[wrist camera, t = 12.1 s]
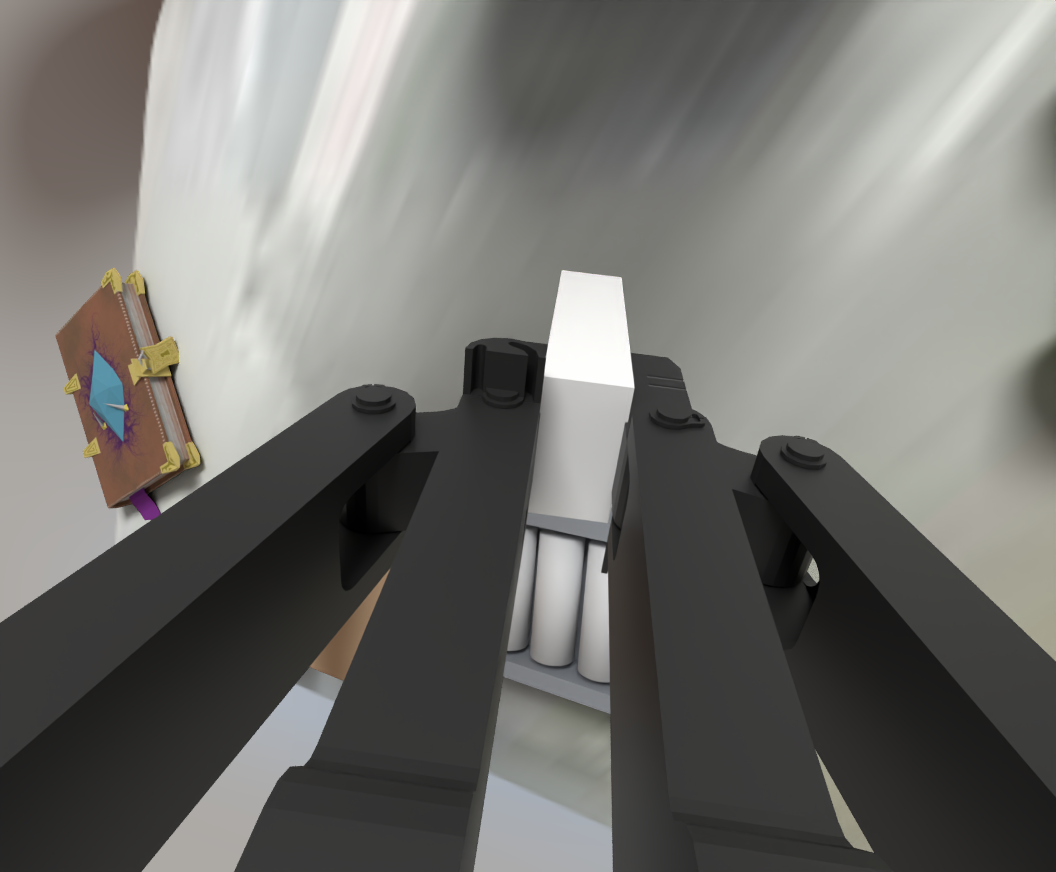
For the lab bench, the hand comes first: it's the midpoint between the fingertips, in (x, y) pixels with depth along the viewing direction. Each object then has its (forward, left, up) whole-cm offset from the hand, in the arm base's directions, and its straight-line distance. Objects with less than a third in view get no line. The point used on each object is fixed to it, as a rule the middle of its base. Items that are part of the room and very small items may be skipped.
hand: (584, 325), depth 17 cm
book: (-46, -38, -26) cm, 65 cm away
